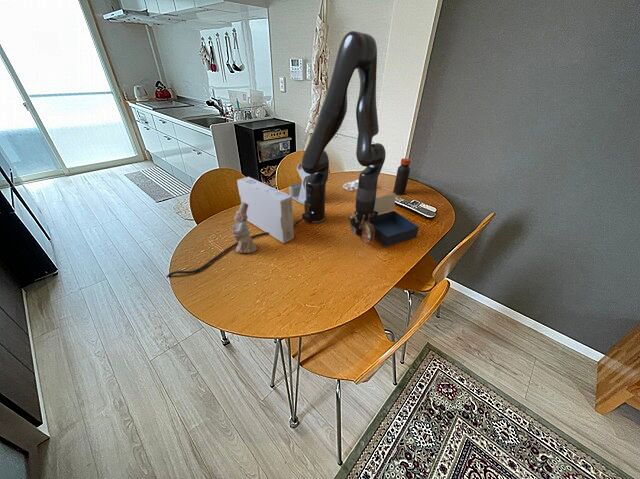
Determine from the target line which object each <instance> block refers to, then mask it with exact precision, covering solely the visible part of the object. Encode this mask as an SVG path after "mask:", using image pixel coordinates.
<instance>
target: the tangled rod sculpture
mask: <svg viewBox="0 0 640 479" xmlns="http://www.w3.org/2000/svg"><path fill="white" fill-rule="evenodd" d="M358 182H359V179H356V180H353V181H348V182H345V183H344V184H343V186H342V187H343V188H344V189H345V190H346V191H350V192H352V191H357V189H358Z"/></svg>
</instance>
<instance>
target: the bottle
mask: <svg viewBox="0 0 640 479" xmlns="http://www.w3.org/2000/svg"><path fill="white" fill-rule="evenodd" d="M410 164H411V159H410V158H406V157H403V158H401V160H400V165H399V166H398V167H397V169H396V176H395V181H394V186H393V193H395V195H398V196H403V195H405V194H406V190H407V186H408V181H409V177H410V172H411V168H410Z"/></svg>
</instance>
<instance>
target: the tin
mask: <svg viewBox="0 0 640 479" xmlns="http://www.w3.org/2000/svg"><path fill="white" fill-rule="evenodd" d="M356 218H357V217H356ZM349 225H350V228H351V231H352V233H353V234H354V235H356V236H357V237H358V238H359V239H360V240H361V241H362V242H364V243H367V244H368V243H370V242H373V241H374V240H375V229H374V227H373V225H372V224H371V223H370V222H368V221H367V220H364V222H363V224H362V227H361V236H358V235H357V234H356V229H355V228H354V227H353V226H352V224H351V222H350V221H349Z"/></svg>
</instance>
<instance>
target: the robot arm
mask: <svg viewBox="0 0 640 479" xmlns="http://www.w3.org/2000/svg"><path fill="white" fill-rule="evenodd" d="M377 68H378V46H377V41H376V39H375V38H374V37H373V35H371V34H370V33H369V34H368V33H365V32H360V31H358V30H357V31H356V30H349V31H348V32H347V33H346V34H345V35H344V36H343V38H342V40H341V42H340V45H339V47H338V50H337V54H336V58H335V62H334V66H333V70H332V74H331V78H330V81H329V84H328V87H327V91H326V92H325V97H324V99H323V102H322V104H321V106H320V107H321V108H320V111H319V113H318V116H317V120H316V123H315V124H314V125H315V126H314V128H313V131H312V134H311V137H310V140H309V142H308V144H307V146H306V148H305V150H304V152H303V154H302V158H301V163H302V165H301V169H302V168H303V170H304V172H305V173H307V174H310V176H309V177H308V178H307V179H306V200H305V201H304V205H303V206H304V207H303V208H304V212H303V213H301V219H299V220H297V221H296V222H295V223H294V224H293V228H295V227H296V226H297V225H298V224H299V223H300V222H302V221H305V222H307V223H309V224H319V223H322V222H324V221H325V220H326V191H327V190H326V189H327V182H328V180H329V170H330V159H329V155H328V153H327V152H326V150H325V149H326V148H327V146H328V145H329V143H330V142H331V141H332V140H333V139H334V137H336V135H337V133H338V132H339V131H340V129H341V127H342V125H343V122H344V120H345V118H346V115H347V112H348V89H349V85H350V82H351V79H352V77H353V74H354V72H355V71H356V70H357V73H358V77H359V92H358V96H357V101H356V108H355V119H356V127H357V139H356V150H355V151H356V152H355V156H356V160H357V162H358V164H359V165H360V166H361V167H364V169H362V170H361V171H360V172H359V174H358V180H359V182H358V185H357V187H358V189H357V190H356V197H355V210H354V214H353V215H349V216H348V219H349V223H350V222H351V224H352V226H353V227H354V228H355V229H356V234H357V235H358V236H361V227H362V224H363V222H364V220H367V221H368V222H370V223H371V224H373V222H374V221H375V219H376V217H377V215H379V214H378V212H377V211H376V210H374V207H375V200H376V197H377V192H378V191H377V188H378V181H379V176H380V174H381V172H382V169H383V166H384V164H385V160H386V157H387V156H386V154H387V153H386V148H385V146H384V145H383V144H382V143H379V142H375V143H374V142H373V138H374V137H375V136H377V135H378V134H379V131H380V130H379V129H380V128H379V120H378V118H379V117H378V108H377ZM356 217H357V218H356ZM371 219H372V220H371ZM356 234H355V235H356ZM264 235H270V234H269V232H261V233H256V234H254V235H251V236H250V235H249V236H250V238H252V239H253V238H256V237H259V236H264ZM357 235H356V236H357ZM358 236H357V237H358ZM238 243H239V241H238V242H235V243H234V244H232V245H230V246H229V247H227V248H225V249H224V250H223V251H221V252H220V253H219V254H217V255H216V256H214V257H213V258H211V259H210V260H209V261H207V262H206V263H205V264H203V265H202V266H200V267H198V268H196V269H193V270H174V271H171V272H169V273H168V274H167V275H166V276H165V277H166V278H167V279H168V278H170V277H171V276H172V275H174V274H193V273H196V272H199V271H200V270H203V269H205V268H206V267H207V266H208V265H210V264H211V263H213V262H214V261H215V260H217V259H218V258H220V257H221V256H222V255H224V254H225V253H227V252H228V251H230V250H231V249H233V248H234V247H237V245H238Z"/></svg>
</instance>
